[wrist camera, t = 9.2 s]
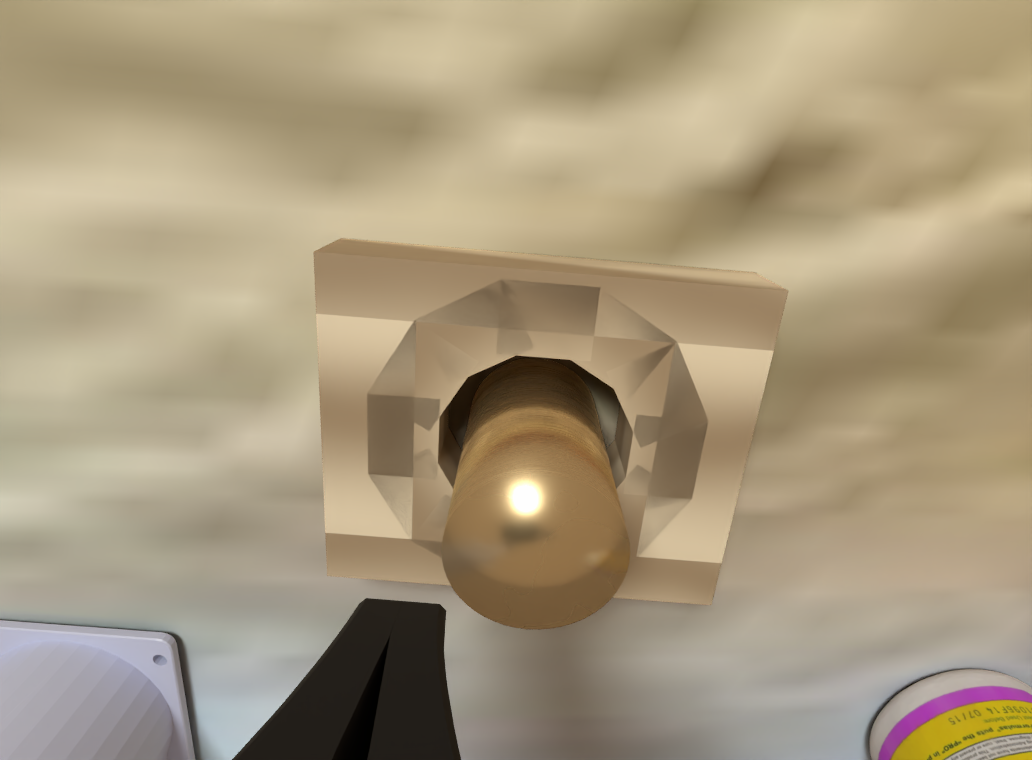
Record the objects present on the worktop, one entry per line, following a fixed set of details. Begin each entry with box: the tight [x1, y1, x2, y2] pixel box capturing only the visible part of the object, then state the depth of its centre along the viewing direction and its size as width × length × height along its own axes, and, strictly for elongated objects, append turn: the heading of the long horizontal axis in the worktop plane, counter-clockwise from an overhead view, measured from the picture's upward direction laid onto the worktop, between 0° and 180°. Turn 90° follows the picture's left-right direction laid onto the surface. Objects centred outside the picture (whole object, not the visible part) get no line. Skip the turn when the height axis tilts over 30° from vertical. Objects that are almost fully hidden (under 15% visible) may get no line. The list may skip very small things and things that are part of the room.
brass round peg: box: [441, 358, 630, 629], centre depth 16 cm, size 4×4×7 cm
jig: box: [314, 238, 788, 605], centre depth 18 cm, size 10×12×2 cm
